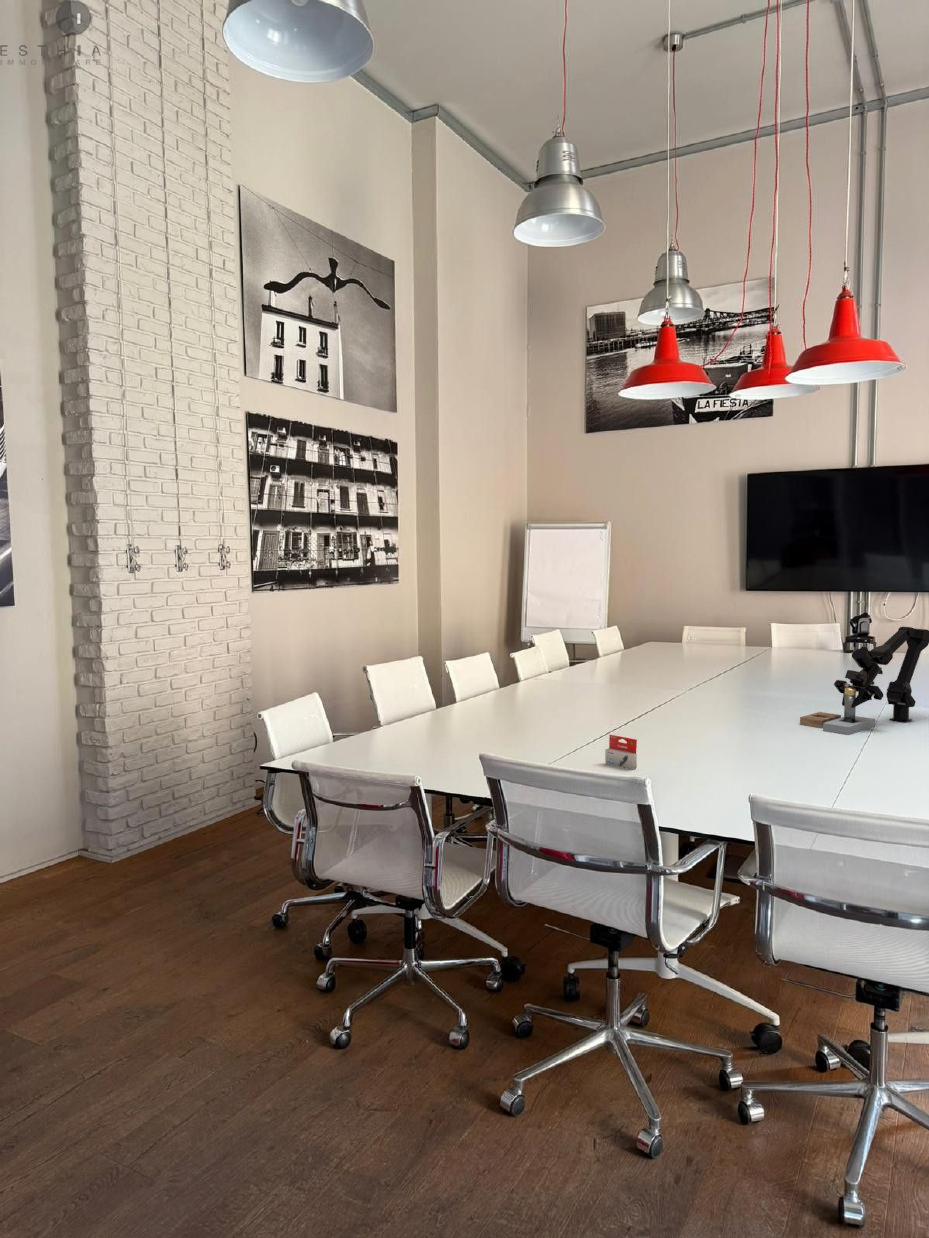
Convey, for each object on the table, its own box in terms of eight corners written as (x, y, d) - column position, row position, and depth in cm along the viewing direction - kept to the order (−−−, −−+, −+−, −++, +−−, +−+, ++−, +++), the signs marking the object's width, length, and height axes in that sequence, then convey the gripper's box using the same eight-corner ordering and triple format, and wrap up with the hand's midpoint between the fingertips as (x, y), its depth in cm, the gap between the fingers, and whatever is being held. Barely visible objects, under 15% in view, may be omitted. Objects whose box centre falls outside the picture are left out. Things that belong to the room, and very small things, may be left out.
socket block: (819, 718, 339) (819, 711, 339) (841, 722, 332) (841, 714, 332) (799, 724, 329) (800, 717, 329) (821, 728, 322) (821, 720, 322)
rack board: (849, 722, 332) (849, 715, 331) (874, 726, 324) (875, 718, 324) (822, 730, 318) (823, 723, 317) (848, 734, 310) (848, 727, 310)
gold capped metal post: (844, 722, 323) (845, 687, 322) (855, 723, 321) (856, 687, 320) (843, 724, 320) (844, 688, 319) (854, 725, 318) (855, 689, 317)
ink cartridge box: (632, 770, 265) (633, 740, 264) (604, 764, 273) (604, 735, 272) (637, 768, 267) (637, 739, 266) (609, 762, 275) (609, 734, 274)
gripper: (837, 659, 329) (817, 689, 325) (879, 665, 312) (858, 696, 308) (850, 677, 333) (831, 707, 329) (892, 683, 316) (872, 715, 312)
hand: (847, 706), depth 319 cm, fingers closed on gold capped metal post, 4 cm apart
